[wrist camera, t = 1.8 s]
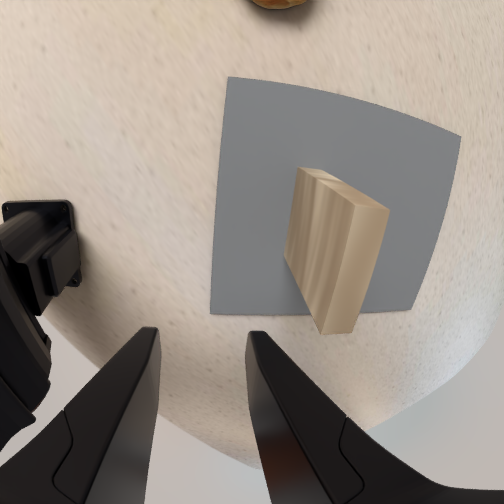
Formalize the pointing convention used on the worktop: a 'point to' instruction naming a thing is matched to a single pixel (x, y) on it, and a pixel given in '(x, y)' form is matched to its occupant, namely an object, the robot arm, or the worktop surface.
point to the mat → (336, 164)
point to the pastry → (278, 3)
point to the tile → (333, 247)
